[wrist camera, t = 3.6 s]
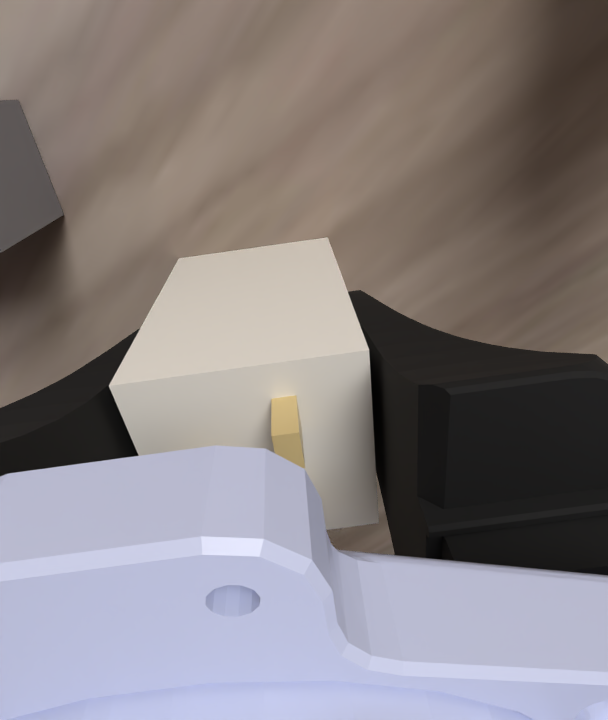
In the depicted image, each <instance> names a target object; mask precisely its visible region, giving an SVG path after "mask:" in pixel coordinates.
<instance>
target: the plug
mask: <svg viewBox="0 0 608 720" xmlns="http://www.w3.org/2000/svg"><path fill="white" fill-rule="evenodd" d="M109 388H110V390H111V392H112V395H113V397H114V399H115V402H116V404H117V406H118V409H119V411H120V413H121V416H122V418H123V420H124V423H125V425H126V427H127V430H128V432H129V434H130V437H131V439H132V441H133V443H134V446H135V448H136V450H137V453H138V455H139V456H141V455H149V454H156V453H164V452H171V451H178V450H186V449H193V448H200V447H208V446H215V445H217V446H232V447H248V448H264V449H267V450H269V451H271V452H273V453H275V454H277V455H279V456H281V457H283V458H285V459H286V460H288V461H290V462H292V463H294V464H296V465H298V466H300V467H302V468H304V469H305V471H306V472H307V474H308V476H309V478H310V479H311V481H312V483H313V485H314V486H315V488H316V490H317V492H318V493H319V495H320V497H321V499H322V505H323V512H324V519H325V525H326V530H331V529H338V528H346V527H353V526H361V525H368V524H376V523H379V518H378V500H377V482H376V464H375V446H374V428H373V410H372V392H371V374H370V356H369V348H368V345H367V343H366V340H365V337H364V335H363V332H362V329H361V326H360V324H359V321H358V318H357V316H356V313H355V310H354V308H353V305H352V302H351V299H350V297H349V294H348V291H347V289H346V286H345V283H344V281H343V278H342V275H341V272H340V270H339V267H338V264H337V262H336V259H335V256H334V253H333V251H332V248H331V245H330V243H329V240H328V237H327V238H320V239H313V240H305V241H298V242H291V243H284V244H277V245H270V246H263V247H256V248H249V249H242V250H235V251H228V252H221V253H214V254H207V255H199V256H192V257H185V258H179V259H178V261H177V263H176V265H175V267H174V268H173V270H172V272H171V274H170V276H169V277H168V279H167V281H166V283H165V285H164V286H163V288H162V290H161V292H160V294H159V296H158V297H157V299H156V301H155V303H154V305H153V306H152V308H151V310H150V312H149V314H148V316H147V317H146V319H145V321H144V323H143V325H142V326H141V328H140V330H139V332H138V334H137V335H136V337H135V339H134V341H133V343H132V345H131V346H130V348H129V350H128V352H127V354H126V355H125V357H124V359H123V361H122V363H121V364H120V366H119V368H118V370H117V372H116V374H115V375H114V377H113V379H112V381H111V383H110V384H109Z"/></svg>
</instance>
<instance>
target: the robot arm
mask: <svg viewBox="0 0 608 720" xmlns="http://www.w3.org/2000/svg"><path fill="white" fill-rule="evenodd" d="M348 294H349V297H350V299H351V302H352V305H353V308H354V310H355V313H356V316H357V318H358V321H359V324H360V326H361V329H362V332H363V335H364V337H365V340H366V343H367V345H368V348H369V356H370V374H371V392H372V410H373V428H374V446H375V464H376V473H377V477H378V481H379V485H380V490H381V494H382V498H383V503H384V507H385V512H386V516H387V520H388V525H389V529H390V534H391V538H392V543H393V548H394V552H395V555H388V554H377V553H366V552H356V551H345V550H337V549H335V548H334V547H333V546H332V544H331V542H330V540H329V537H328V534H327V531H326V525H325V519H324V512H323V505H322V499H321V497H320V495H319V493H318V492H317V490H316V488H315V486H314V485H313V483H312V481H311V479H310V478H309V476H308V474H307V472H306V471H305V469H304V468H302V467H300V466H298V465H296V464H294V463H292V462H290V461H288V460H286V459H285V458H283V457H281V456H279V455H277V454H275V453H273V452H271V451H269V450H267V449H264V448H248V447H232V446H217V445H215V446H208V447H200V448H193V449H186V450H178V451H171V452H164V453H156V454H149V455H141V456H139V455H138V453H137V450H136V448H135V446H134V443H133V441H132V439H131V437H130V434H129V432H128V430H127V427H126V425H125V423H124V420H123V418H122V416H121V413H120V411H119V409H118V406H117V404H116V402H115V399H114V397H113V395H112V392H111V390H110V388H109V384H110V383H111V381H112V379H113V377H114V375H115V374H116V372H117V370H118V368H119V366H120V364H121V363H122V361H123V359H124V357H125V355H126V354H127V352H128V350H129V348H130V346H131V345H132V343H133V341H134V339H135V337H136V335H137V334H138V332H139V330H140V329H138V330H137V331H135V332H134V333H132V334H131V335H129V336H128V337H127V338H125V339H124V340H122V341H121V342H119V343H118V344H117V345H115V346H114V347H112V348H111V349H109V350H108V351H106V352H105V353H103V354H102V355H100V356H99V357H97V358H96V359H94V360H92V361H91V362H89V363H88V364H86V365H85V366H83V367H82V368H80V369H78V370H77V371H75V372H73V373H72V374H70V375H68V376H67V377H65V378H63V379H61V380H59V381H57V382H56V383H54V384H52V385H50V386H48V387H46V388H44V389H42V390H40V391H38V392H36V393H34V394H32V395H30V396H27V397H25V398H23V399H21V400H18V401H16V402H14V403H11V404H9V405H7V406H5V407H2V408H0V720H608V364H607V363H606V362H604V361H603V360H602V359H601V358H599V357H598V356H597V355H595V354H576V353H557V352H540V351H531V350H523V349H515V348H508V347H502V346H496V345H490V344H486V343H482V342H477V341H473V340H468V339H464V338H461V337H457V336H454V335H451V334H448V333H445V332H442V331H439V330H436V329H433V328H431V327H428V326H426V325H423V324H421V323H419V322H417V321H414V320H412V319H410V318H408V317H406V316H404V315H402V314H400V313H398V312H397V311H395V310H393V309H391V308H389V307H388V306H386V305H384V304H383V303H381V302H379V301H378V300H376V299H374V298H373V297H371V296H370V295H368V294H366V293H365V292H363V291H361V290H358V291H351V292H348Z"/></svg>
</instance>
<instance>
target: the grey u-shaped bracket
mask: <svg viewBox="0 0 608 720" xmlns="http://www.w3.org/2000/svg"><path fill="white" fill-rule="evenodd" d="M63 215H64V214H63V211H62V209H61V206H60V204H59V201H58V199H57V196H56V194H55V191H54V189H53V186H52V184H51V181H50V179H49V176H48V174H47V171H46V169H45V166H44V163H43V161H42V158H41V156H40V153H39V151H38V148H37V146H36V143H35V141H34V138H33V136H32V133H31V131H30V128H29V126H28V123H27V121H26V118H25V116H24V113H23V111H22V108H21V106H20V103H19V101H18V100H3V101H0V252H3V251H5V250H6V249H8V248H10V247H11V246H13V245H15V244H16V243H18V242H20V241H21V240H23V239H25V238H26V237H28V236H29V235H31V234H33V233H34V232H36V231H38V230H39V229H41V228H43V227H44V226H46V225H48V224H49V223H51V222H53V221H54V220H56V219H58V218H59V217H61V216H63Z"/></svg>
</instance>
